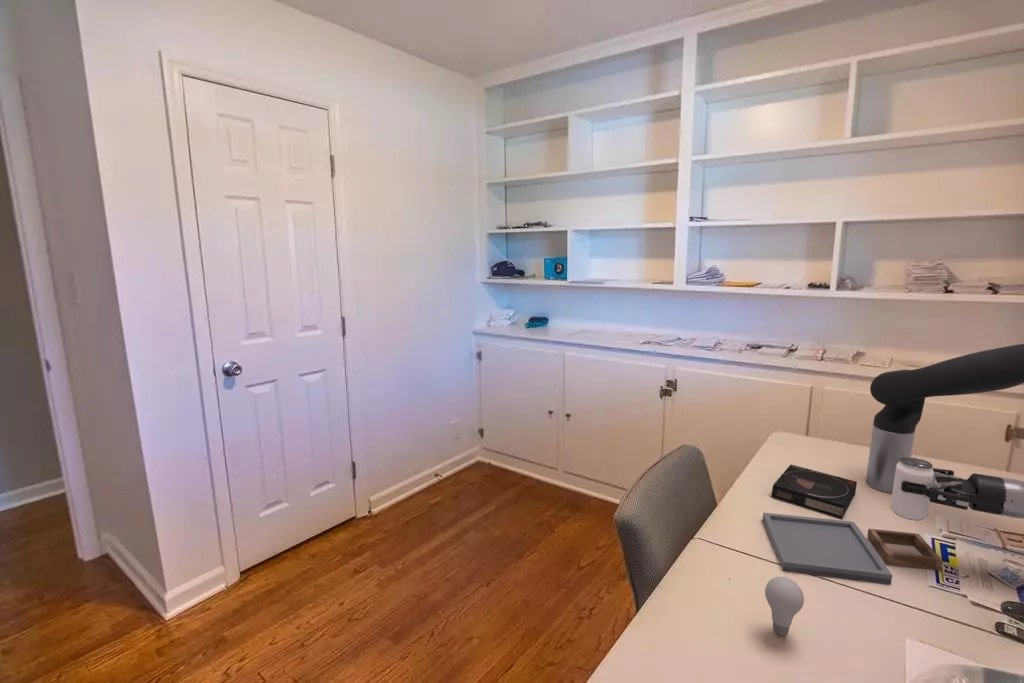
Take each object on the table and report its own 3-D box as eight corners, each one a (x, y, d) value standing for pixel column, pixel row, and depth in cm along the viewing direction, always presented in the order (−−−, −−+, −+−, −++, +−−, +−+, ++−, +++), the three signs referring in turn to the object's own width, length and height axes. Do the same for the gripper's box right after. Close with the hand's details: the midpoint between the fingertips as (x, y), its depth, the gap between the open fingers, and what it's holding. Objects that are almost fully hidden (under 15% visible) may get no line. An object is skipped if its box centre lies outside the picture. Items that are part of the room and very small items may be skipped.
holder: (867, 538, 121) (868, 528, 120) (916, 543, 118) (918, 533, 118) (886, 564, 111) (888, 554, 111) (940, 571, 109) (942, 560, 108)
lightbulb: (754, 622, 96) (759, 570, 93) (786, 620, 96) (791, 568, 94) (773, 648, 90) (779, 593, 87) (807, 645, 90) (813, 590, 88)
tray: (762, 520, 129) (763, 512, 128) (852, 530, 124) (853, 521, 124) (783, 571, 110) (784, 561, 109) (890, 584, 105) (892, 575, 105)
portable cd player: (771, 499, 140) (772, 485, 139) (789, 476, 152) (790, 464, 151) (841, 521, 129) (843, 506, 128) (855, 495, 141) (856, 481, 140)
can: (934, 522, 109) (942, 470, 106) (899, 520, 110) (906, 468, 108) (917, 506, 115) (924, 456, 113) (884, 504, 116) (891, 455, 114)
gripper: (993, 464, 110) (896, 450, 118) (1017, 495, 97) (907, 477, 105) (987, 497, 111) (892, 480, 119) (1010, 531, 99) (902, 510, 107)
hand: (899, 479), depth 112 cm, fingers closed on can, 6 cm apart
